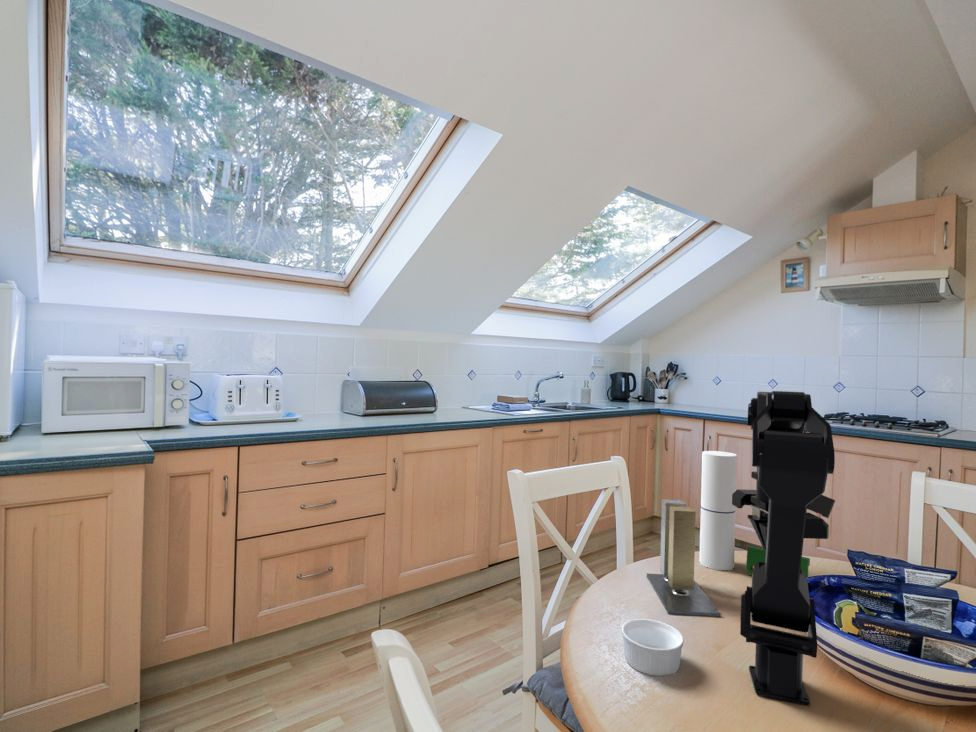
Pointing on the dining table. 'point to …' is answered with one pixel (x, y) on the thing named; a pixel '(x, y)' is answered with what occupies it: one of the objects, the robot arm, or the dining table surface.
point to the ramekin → (652, 646)
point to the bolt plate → (670, 598)
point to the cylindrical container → (717, 510)
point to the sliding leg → (681, 548)
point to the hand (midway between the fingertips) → (774, 564)
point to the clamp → (759, 556)
